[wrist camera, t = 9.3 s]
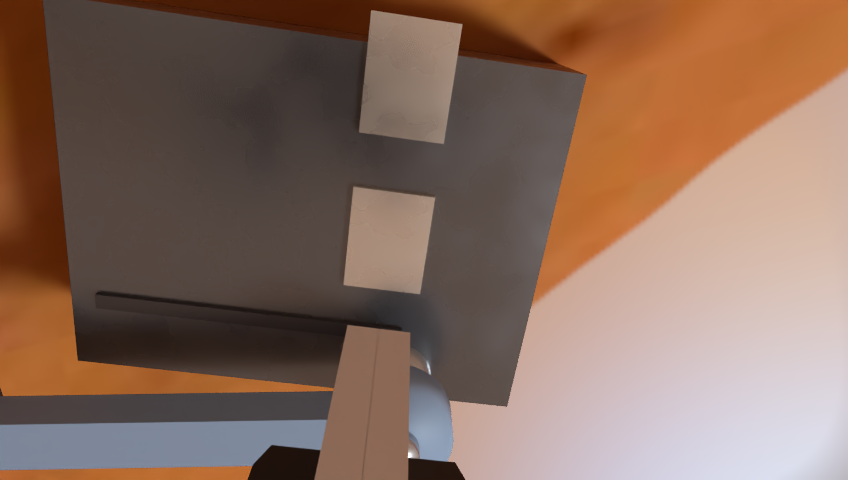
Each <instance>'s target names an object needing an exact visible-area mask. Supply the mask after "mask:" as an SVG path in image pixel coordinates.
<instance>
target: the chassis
mask: <svg viewBox="0 0 848 480" xmlns="http://www.w3.org/2000/svg"><path fill="white" fill-rule="evenodd" d="M43 7H44V17H45V27H46V38H47V48H48V58H49V68H50V79H51V89H52V99H53V109H54V120H55V130H56V140H57V151H58V161H59V171H60V181H61V192H62V202H63V212H64V223H65V233H66V243H67V253H68V264H69V274H70V284H71V295H72V305H73V315H74V325H75V336H76V346H77V356H78V360H79V361H88V362H97V363H107V364H116V365H125V366H135V367H144V368H153V369H162V370H172V371H181V372H190V373H200V374H209V375H218V376H227V377H237V378H246V379H255V380H265V381H274V382H283V383H293V384H302V385H311V386H320V387H330V388H334V386H335V381H336V377H337V372H338V367H339V363H340V358H341V353H342V349H343V344H344V339H345V335H346V330H347V325H352V326H360V327H368V328H377V329H385V330H393V331H402V332H410V366H413V367H416V368H419V369H421V370H423V371H425V372H427V373H428V374H430V375H431V376H433V377H434V378H435V379H436V380H437V381H438V382H439V383H440V384H441V385H442V387H443V388H444V390H445V391H446V393H447V396H448V398H449V400H451V401H460V402H469V403H479V404H488V405H497V406H506V407H507V404H508V400H509V396H510V391H511V387H512V383H513V379H514V375H515V370H516V367H517V362H518V358H519V354H520V350H521V346H522V342H523V338H524V333H525V329H526V325H527V321H528V317H529V313H530V309H531V304H532V300H533V296H534V292H535V288H536V284H537V279H538V275H539V271H540V267H541V263H542V259H543V255H544V250H545V246H546V242H547V238H548V234H549V230H550V225H551V221H552V217H553V213H554V209H555V205H556V201H557V196H558V192H559V188H560V184H561V180H562V176H563V171H564V167H565V163H566V159H567V155H568V151H569V147H570V142H571V138H572V134H573V130H574V126H575V122H576V117H577V113H578V109H579V105H580V101H581V97H582V93H583V88H584V84H585V80H586V76H587V75H586V74H583V73H581V72H578V71H575V70H573V69H570V68H568V67H565V66H562V65H560V64H554V63H547V62H541V61H534V60H528V59H521V58H514V57H508V56H501V55H494V54H488V53H481V52H474V51H468V50H461V49H459V44H460V37H461V31H462V25H463V24H458V23H452V22H445V21H439V20H432V19H426V18H419V17H413V16H406V15H400V14H393V13H387V12H380V11H374V10H371V17H370V27H369V36H368V35H361V34H354V33H348V32H341V31H334V30H328V29H321V28H314V27H308V26H301V25H294V24H288V23H281V22H275V21H268V20H261V19H255V18H248V17H241V16H235V15H228V14H221V13H215V12H208V11H201V10H195V9H188V8H181V7H175V6H168V5H161V4H155V3H148V2H141V1H135V0H43ZM408 458H418V459H420V446H419V443H418V441H417V439H416V438H415V436H414V435H413V434H412V433H410V432H409V449H408Z"/></svg>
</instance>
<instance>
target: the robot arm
mask: <svg viewBox="0 0 848 480" xmlns="http://www.w3.org/2000/svg"><path fill="white" fill-rule="evenodd" d="M409 384H410V332H402V331H393V330H385V329H377V328H368V327H360V326H352V325H347V330H346V335H345V339H344V344H343V349H342V353H341V358H340V363H339V367H338V372H337V377H336V381H335V386H334V391H333V395H332V400H331V405H330V409H329V414H328V419H327V423H326V428H325V433H324V437H323V442H322V447H321V450H316V449H306V448H296V447H287V446H277V445H271V446H270V447H269V448H268V449H267V450H266V451H265V452H264V453H263V454H262V455H261V456H260V457H259V458H258V460H257V461H256V462H255V463H254V464H253V466H252V469H251V472H250V475H249V477H248V480H465V478H464V477H463V475H462V473H461V472H460V470H459V468H458V467H457V465H456V463H455V462H446V461H437V460H427V459H418V458H408V449H409Z"/></svg>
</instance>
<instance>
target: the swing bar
mask: <svg viewBox="0 0 848 480" xmlns="http://www.w3.org/2000/svg"><path fill="white" fill-rule="evenodd" d="M332 395H333V391H318V392H252V393H187V394H121V395H55V396H3V395H2V392H1V389H0V470H36V469H95V468H154V467H214V466H253V464H254V463H255V462H256V461H257V460H258V458H259V457H260V456H261V455H262V454H263V453H264V452H265V451H266V450H267V449H268V448H269V447H270V446H271V445H277V446H287V447H296V448H306V449H316V450H321V447H322V442H323V437H324V433H325V428H326V423H327V419H328V414H329V409H330V405H331V400H332ZM409 432H410V433H412V434H413V435H414V436H415V438H416V439H417V441H418V443H419V446H420V459H427V460H437V461H446V462H447V461H448V458H449V456H450V454H451V451H452V448H453V430H452V419H451V409H450V402H449V398H448V396H447V393H446V391H445V390H444V388H443V387H442V385H441V384H440V383H439V382H438V381H437V380H436V379H435V378H434V377H433V376H431V375H430V374H428V373H427V372H425V371H423V370H421V369H419V368H416V367H413V366H410V384H409Z"/></svg>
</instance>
